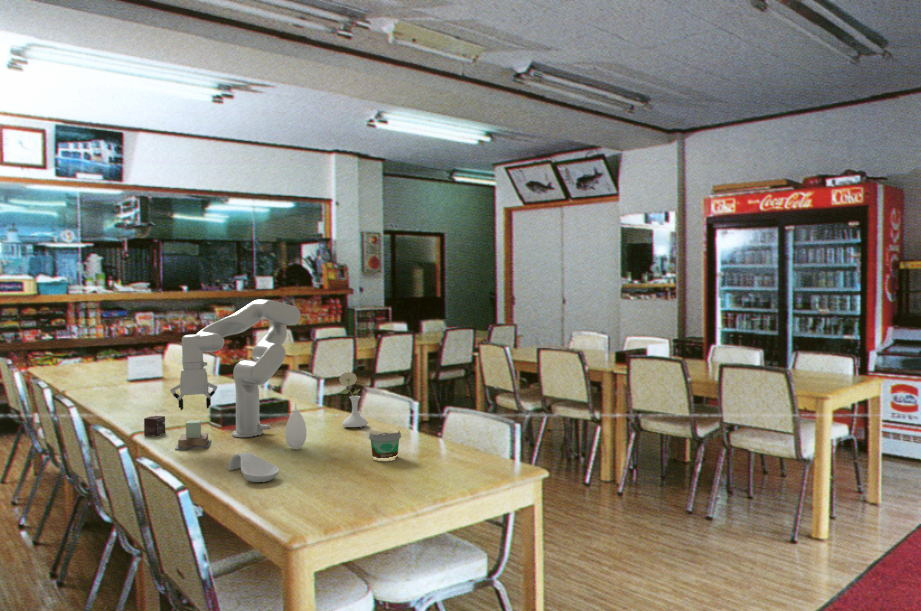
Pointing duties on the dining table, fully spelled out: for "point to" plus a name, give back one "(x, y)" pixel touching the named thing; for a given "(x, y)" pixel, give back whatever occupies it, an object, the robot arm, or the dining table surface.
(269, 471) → the spoon rest
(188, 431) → the block
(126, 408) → the dining table surface
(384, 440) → the food container
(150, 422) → the box
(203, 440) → the plinth
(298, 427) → the sauce bottle
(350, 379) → the flower in vase
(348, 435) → the dining table surface
